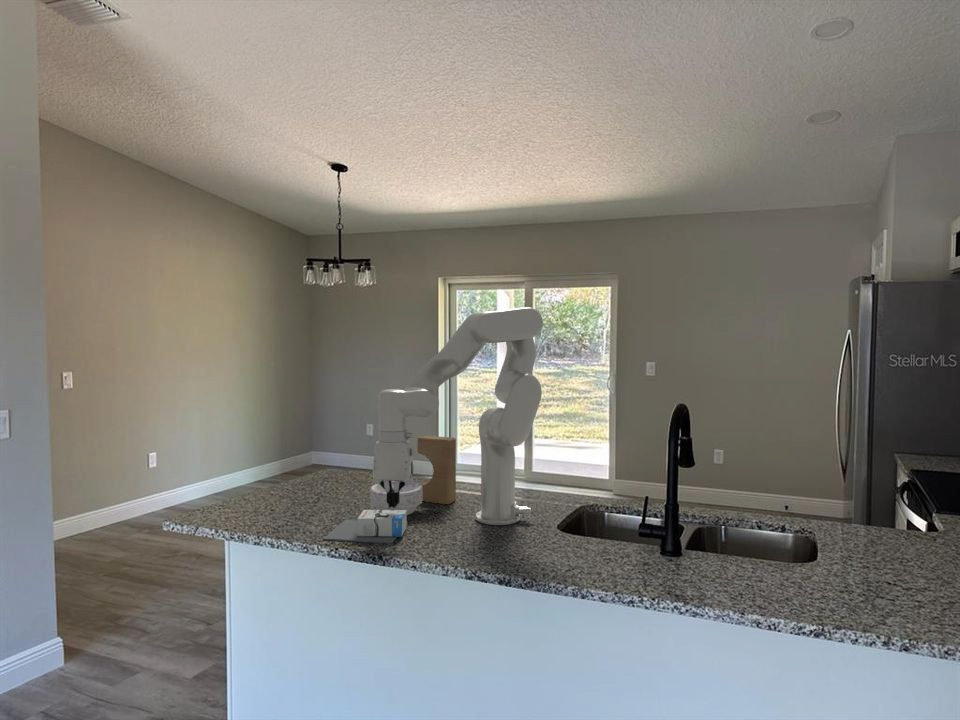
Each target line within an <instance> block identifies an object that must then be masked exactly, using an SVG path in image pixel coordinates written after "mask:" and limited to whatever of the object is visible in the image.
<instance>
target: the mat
mask: <svg viewBox="0 0 960 720" xmlns="http://www.w3.org/2000/svg"><path fill="white" fill-rule="evenodd" d="M408 525H409V522H408V521H407V526H408ZM397 539H398V537H397V536H357V519H344V520H343V521H342V522H341V523H340V524H339V525H337V526H336V527H335V528H334V529H333V530H331V531H330V532H329V533H328V534H327V535H326V536H324V537H322V540H323V541H332V540H333V542H335V541H337V542H355V543H374V544H393V543H394V542H395V541H396V540H397ZM394 540H395V541H394Z"/></svg>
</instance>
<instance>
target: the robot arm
mask: <svg viewBox="0 0 960 720" xmlns="http://www.w3.org/2000/svg"><path fill="white" fill-rule="evenodd" d="M543 325H544V321H543V317H542V314H541V313H540V312H539V311H538V310H536V309H535V308H533V307H518V308H517V307H515V308H508V309H505V310H495V311H478V312H473V313H471V314H470V315H469V316H467V317H466V318H465V320H464V321H463V322H462V323H461V324H460V325H459V327H457V329H456V331H455V332H454V333H453V334H452V336H451V337H450V338H449V340H447V342H446V343H445V344H444V346H443V347H442V349H441V350H439V352H438V353H436V355H434V356H433V357H432V358H430V360H428V362H427V363H425V364H424V365H423V366H422V367H421V368H420V369H419V370H418V372H416V374H415V375H414V376H413V377H412V379H411V380H410V381H409V382H408V384H407V385H406V386H405V388H404V389H399V388H398V389H397V388H396V389H395V388H391V389H389V388H388V389H382V390H380V391H379V392H378V397H377V400H378V401H377V404H378V405H377V407H378V408H377V409H378V411H377V412H378V413H377V415H378V416H377V419H378V422H377V425H378V430H377V431H378V432H377V433H378V435H377V436H378V440H377V441H375V446H374V450H373V451H374V452H373V459H372V460H373V461H372V462H373V463H372V477H373V478H372V483H373V485H375V484H378V485H381V486H382V487H383V488H384V489H385V491H386V492H387V503H389V508H391V507H393V508H395V507H396V506H397V505H398V504H399V490H400V489H401V488H402V487H403V486H407V485H411V484H413V482H414V479H413V476H414V474H415V473H414V472H415V470H414V469H415V468H414V467H415V466H414V454H413V447H412V443H411V441H410V440H409V439H413V438H414V435H413V432H409V429H408V417H413V418H414V417H415V418H428V417H431V416H433V415H434V414H435V413H436V412H437V411H438V409H439V405H440V401H439V400H440V399H439V397H438V396H437V394H436V393H435V392H436V391H437V390H438V389H439V388H440V387H441V386H442V385H443V384H444V383H445V382H447V381H448V380H451V379H452V378H454V377H457V376H459V375H460V374H462V373H463V372H464V371H466V369H468V367H469V366H470V365H471V363H472V362H473V360H475V358H476V357H477V355H478V354H479V353H480V351H481V350H482V349H483V347H484V346H485V345H486V344H498V343H500V344H501V343H505V345H506V351H505V352H506V353H505V356H504V360H503V363H502V366H501V369H500V372H499V375H498V377H497V381H496V384H495V386H494V394H495V395H494V396H495V397H496V399H497V400H498V401H500V403H502V404H505V405H504V407H498V406H495V407H490V408H488V409H486V410H485V411H484V412H483V413H482V414H481V416H480V418H479V422H478V434H479V443H480V451H481V452H480V453H481V454H480V455H481V456H480V458H481V464H480V467H481V468H480V469H481V471H480V474H481V476H480V477H481V478H480V480H481V481H480V482H481V483H480V487H481V489H480V499H481V500H480V507H481V508H480V510H479V511H478V512H476V513H475V520H476V521H477V522H479V523H481V524H485V525H489V526H491V525H492V526H508V525H513V524H516V523H518V522H519V521H520V520H521V515H524V516H530V515H531V511H532V510H531V507H528V506H525V505H524V506H519V505H518V504H517V501H516V500H515V498H516V496H515V493H516V492H515V491H516V487H515V486H516V485H515V484H516V457H515V456H516V452H515V447H518V446H520V445H522V444H523V443H524V442H525V441H526V440H527V438H528V437H529V435H530V433H531V429H532V427H533V424H534V421H535V418H536V414H537V412H538V410H539V407H540V403H541V401H542V385H541V383H540V381H539V379H538V378H537V377H536V376H535V375H533V374H532V373H533V370H534V366H535V361H536V358H537V357H536V356H537V348H536V343H535V340H534V338H535V337H537V335H539V334H540V333H541V331H542V329H543ZM391 481H395V486H394V490H393V488H392V482H391Z"/></svg>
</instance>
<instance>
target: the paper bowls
mask: <svg viewBox="0 0 960 720" xmlns="http://www.w3.org/2000/svg"><path fill="white" fill-rule="evenodd" d="M391 482H392V488H393V490H394V486H395V481H391ZM421 484H422V483H419V482H417V481H413V484H411V485H407V486H403V487H402V488H401V489H400V490H399V504H398V505H397V506H396V507H395V508H393V507H391V508H389V503H387V492H386V491H385V489H384V488H383V487H382V486H381V485H378V484H373V485H372V486H371V487H370V489H369V491H370V492H369V494H370V500H369V501H370V505H371V506H372V507H374V508H376V510H406V512H407V516H409V515H412V514H413V513H414V512H415V510H416V509H417V507H418V506H420V505H421V504H423V502H422V501H423V491H422V489H423V487H422V485H421Z"/></svg>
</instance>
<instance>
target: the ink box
mask: <svg viewBox="0 0 960 720" xmlns="http://www.w3.org/2000/svg"><path fill="white" fill-rule="evenodd" d="M407 516H408V515H407V512H406V510H377V509H363V510H362V511H361V513H360V514H359V515H358V517H357V519H356V520H357V536H397V538H399V537H403V535H404V534H405V531H406V529H407V526H408V525H407V522H408V521H407V519H408V517H407Z"/></svg>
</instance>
